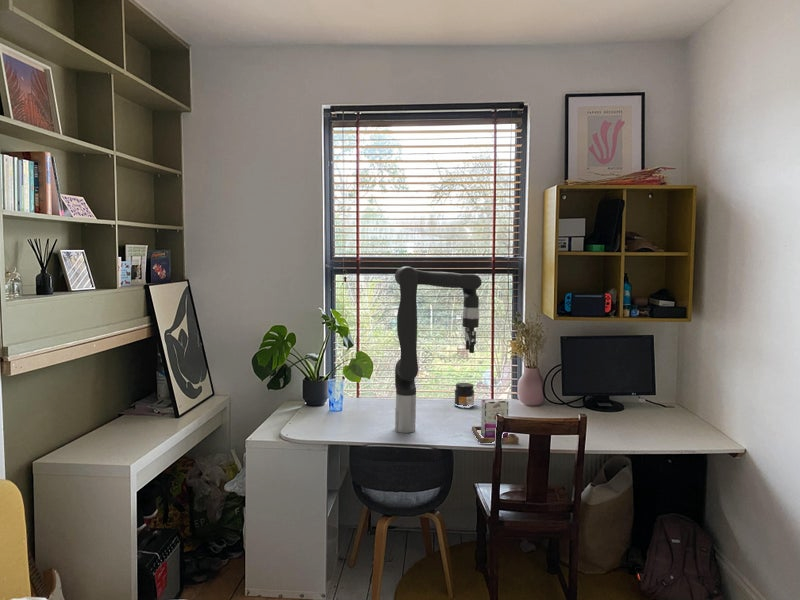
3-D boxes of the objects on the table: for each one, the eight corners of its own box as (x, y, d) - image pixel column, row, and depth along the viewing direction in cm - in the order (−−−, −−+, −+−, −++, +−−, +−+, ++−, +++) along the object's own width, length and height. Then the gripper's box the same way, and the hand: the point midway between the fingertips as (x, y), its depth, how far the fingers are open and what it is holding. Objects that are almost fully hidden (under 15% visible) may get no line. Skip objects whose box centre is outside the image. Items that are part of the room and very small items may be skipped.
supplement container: (472, 409, 290) (473, 387, 289) (453, 408, 292) (453, 386, 291) (474, 404, 300) (475, 383, 299) (455, 403, 302) (456, 381, 301)
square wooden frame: (479, 444, 235) (479, 438, 235) (471, 431, 252) (471, 426, 252) (518, 444, 237) (518, 438, 236) (508, 431, 253) (508, 426, 253)
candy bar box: (503, 433, 248) (504, 398, 247) (508, 437, 243) (509, 401, 242) (480, 435, 246) (481, 399, 244) (484, 438, 241) (485, 402, 239)
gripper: (460, 315, 263) (459, 348, 264) (465, 318, 248) (464, 354, 250) (475, 315, 263) (474, 348, 264) (482, 318, 249) (480, 354, 250)
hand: (469, 351), depth 257 cm, fingers open, 8 cm apart
